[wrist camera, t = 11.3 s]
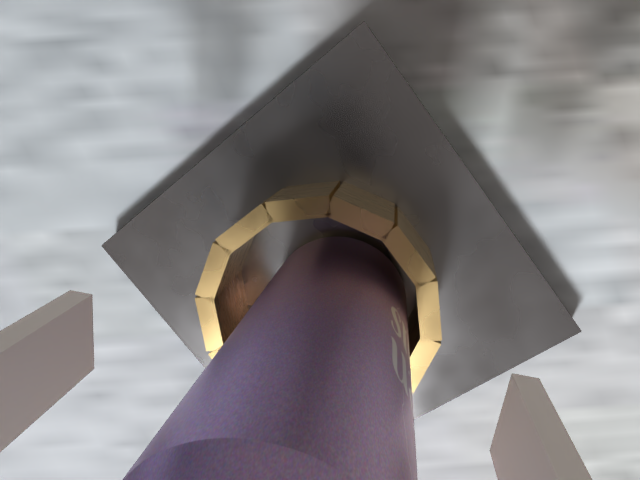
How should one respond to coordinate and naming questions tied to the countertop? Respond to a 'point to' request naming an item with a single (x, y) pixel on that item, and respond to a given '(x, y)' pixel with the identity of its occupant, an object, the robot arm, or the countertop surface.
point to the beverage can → (302, 381)
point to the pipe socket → (347, 225)
